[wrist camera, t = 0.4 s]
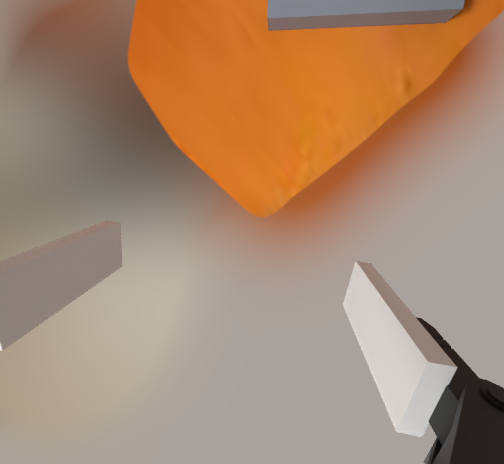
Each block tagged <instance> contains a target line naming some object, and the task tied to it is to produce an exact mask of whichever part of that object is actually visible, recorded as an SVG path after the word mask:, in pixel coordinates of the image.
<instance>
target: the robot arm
mask: <svg viewBox="0 0 504 464" xmlns="http://www.w3.org/2000/svg"><path fill="white" fill-rule="evenodd" d="M121 267H122V250H121V225H120V222H113V221H105V222H102V223H100V224H97V225H94V226H92V227H89V228H86V229H84V230H81V231H79V232H76V233H73V234H70V235H68V236H65V237H63V238H60V239H57V240H55V241H52V242H49V243H47V244H44V245H42V246H39V247H36V248H33V249H31V250H28V251H26V252H23V253H20V254H17V255H15V256H12V257H9V258H7V259H4V260H2V261H0V350H4V349H5V348H7V347H8V346H10V345H11V344H12V343H14V342H15V341H17V340H18V339H20V338H21V337H22V336H24V335H25V334H27V333H28V332H29V331H31V330H32V329H34V328H35V327H36V326H38V325H39V324H41V323H42V322H44V321H45V320H47V319H48V318H49V317H51V316H52V315H53V314H55V313H57V312H58V311H59V310H61V309H62V308H64V307H65V306H66V305H68V304H69V303H71V302H72V301H73V300H75V299H76V298H78V297H79V296H81V295H82V294H84V293H85V292H86V291H88V290H89V289H91V288H92V287H94V286H95V285H96V284H98V283H99V282H101V281H102V280H103V279H105V278H106V277H108V276H109V275H111V274H112V273H113V272H115V271H116V270H118V269H119V268H121ZM343 306H344V309H345V311H346V313H347V316H348V318H349V321H350V323H351V325H352V328H353V330H354V333H355V335H356V337H357V340H358V342H359V344H360V347H361V349H362V352H363V354H364V356H365V359H366V361H367V364H368V366H369V368H370V371H371V373H372V375H373V378H374V380H375V383H376V385H377V387H378V389H379V392H380V395H381V397H382V399H383V401H384V404H385V406H386V409H387V411H388V414H389V416H390V418H391V421H392V423H393V426H394V428H395V430H396V432H400V433H405V434H410V435H414V436H420V437H422V435H423V434H424V432H425V430H426V428H427V426H428V424H429V423H430V425H431V427H432V428H433V430H434V432H435V434H436V436H437V438H436V440H435V442H434V444H433V446H432V448H431V450H430V451H429V453H428V455H427V457H426V459H425V461H424V463H425V464H504V388H502V387H500V386H499V385H496V384H494V383H492V382H490V381H487V380H483V379H480V378H478V377H477V375H476V374H475V373H474V372H473V371H472V370H471V369H470V367H469V366H468V365H467V364H466V363H465V362H464V361H463V360H462V358H461V357H460V356H459V355H458V354H457V353H456V352H455V351H454V350H453V349H451V346H450V345H449V344H448V343H447V342H446V340H443V338H442V336H441V335H440V334H439V333H438V332H437V330H436V329H435V328H434V327H432V326H431V325H429V324H428V323H427V322H426V321H424V320H423V319H421V318H416V317H415V316H414V315H413V314H412V312H411V311H410V310H409V309H408V308H407V307H406V305H405V304H404V303H403V302H402V300H401V299H400V298H399V297H398V296H397V294H396V293H395V292H394V291H393V290H392V288H391V287H390V286H389V285H388V284H387V283H386V281H385V280H384V279H383V278H382V276H381V275H380V274H379V273H378V272H377V270H376V269H375V268H374V267H373V266H372V265H371V263H365V262H359V261H356V262H355V266H354V269H353V273H352V276H351V280H350V283H349V286H348V290H347V293H346V297H345V300H344V304H343Z"/></svg>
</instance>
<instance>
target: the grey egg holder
mask: <svg viewBox="0 0 504 464" xmlns="http://www.w3.org/2000/svg"><path fill="white" fill-rule="evenodd" d="M464 2H465V0H268V27H269V30H292V29H314V28H337V27H359V26H382V25H404V24H427V23H446V22H447V21H449V20H450V19H451V18H452V17H454V16H455V15H456V14H457V13H458V12H460V11H461V10H462V9H463V7H464Z"/></svg>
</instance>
